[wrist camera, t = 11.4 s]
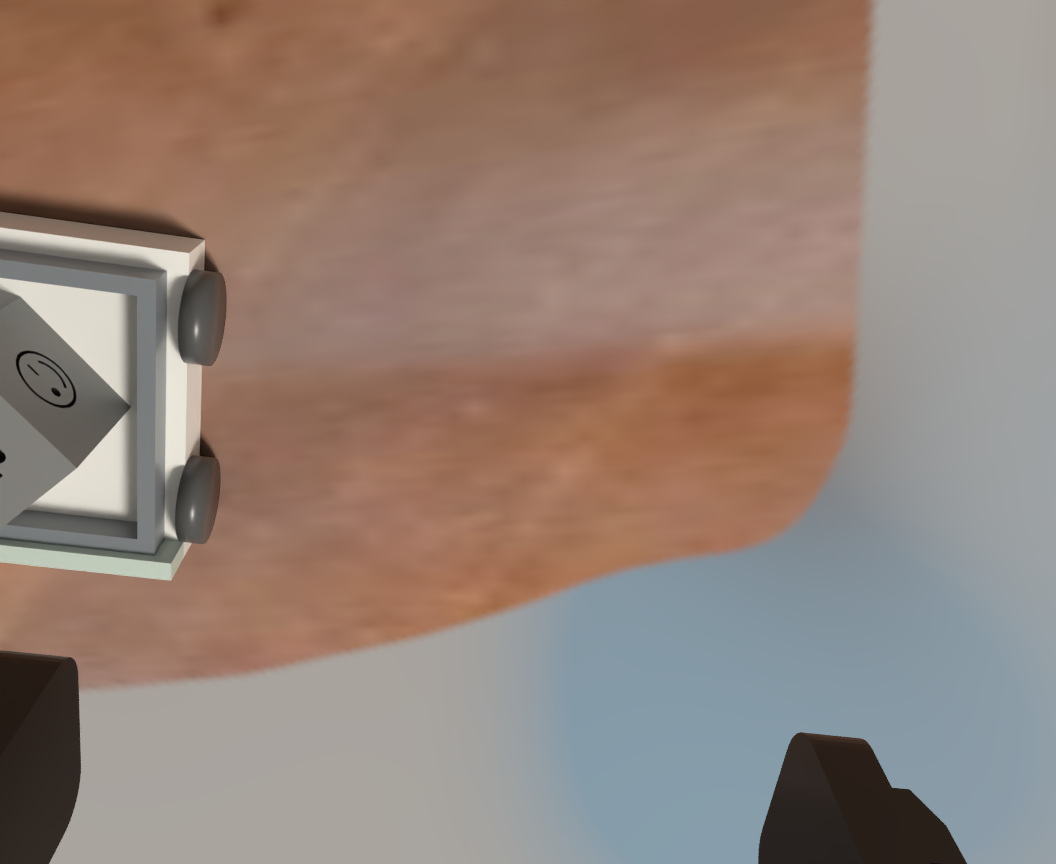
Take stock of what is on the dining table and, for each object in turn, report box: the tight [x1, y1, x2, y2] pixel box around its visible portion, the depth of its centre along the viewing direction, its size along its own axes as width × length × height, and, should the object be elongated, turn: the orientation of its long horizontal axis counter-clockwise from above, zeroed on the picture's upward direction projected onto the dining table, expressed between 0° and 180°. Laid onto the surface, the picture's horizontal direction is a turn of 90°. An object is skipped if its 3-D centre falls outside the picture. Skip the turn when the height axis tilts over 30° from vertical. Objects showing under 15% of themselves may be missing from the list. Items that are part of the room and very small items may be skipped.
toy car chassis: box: [0, 212, 226, 580], centre depth 35 cm, size 12×13×4 cm
